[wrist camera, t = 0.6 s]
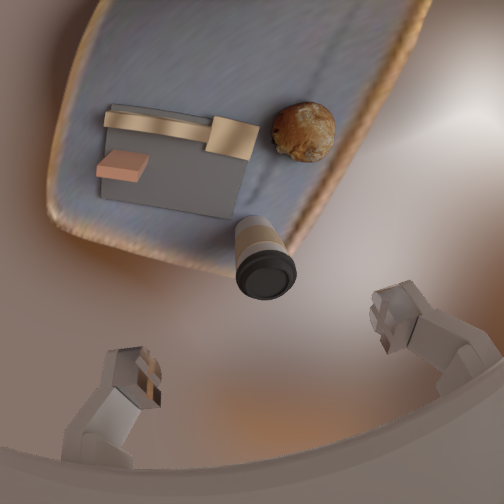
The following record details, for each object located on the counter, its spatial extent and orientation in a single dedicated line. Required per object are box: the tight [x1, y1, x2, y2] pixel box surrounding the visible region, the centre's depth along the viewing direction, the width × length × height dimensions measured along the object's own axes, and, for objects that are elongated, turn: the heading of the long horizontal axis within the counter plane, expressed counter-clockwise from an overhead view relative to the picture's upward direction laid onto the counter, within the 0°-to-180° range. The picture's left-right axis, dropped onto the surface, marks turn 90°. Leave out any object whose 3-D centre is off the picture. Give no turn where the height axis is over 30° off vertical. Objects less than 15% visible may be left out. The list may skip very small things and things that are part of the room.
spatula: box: [104, 110, 260, 160], centre depth 39 cm, size 23×6×2 cm, turn 73°
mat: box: [101, 104, 248, 220], centre depth 43 cm, size 16×23×1 cm
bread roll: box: [272, 102, 335, 162], centre depth 42 cm, size 10×10×8 cm
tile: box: [96, 149, 149, 182], centre depth 38 cm, size 2×6×8 cm, turn 73°
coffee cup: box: [235, 215, 297, 300], centre depth 47 cm, size 9×9×15 cm
